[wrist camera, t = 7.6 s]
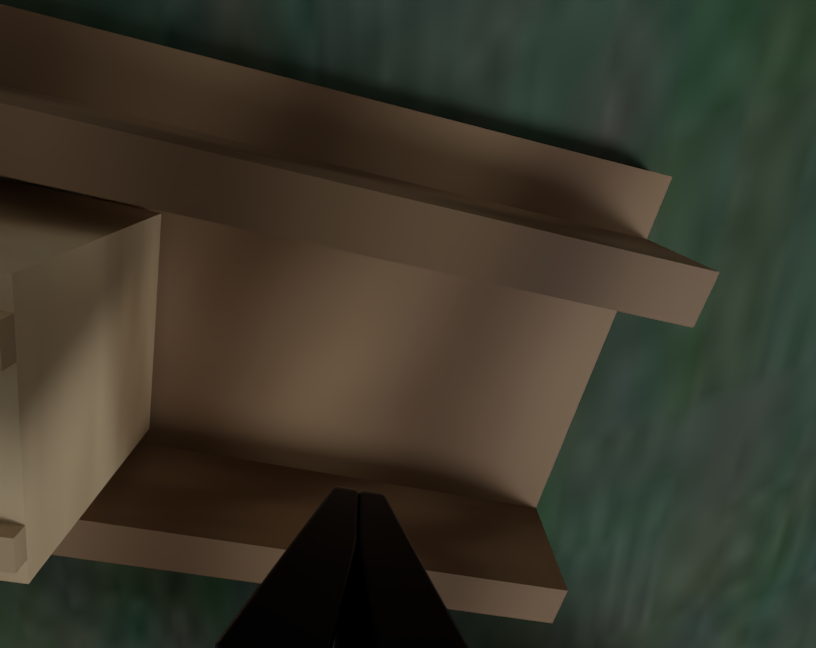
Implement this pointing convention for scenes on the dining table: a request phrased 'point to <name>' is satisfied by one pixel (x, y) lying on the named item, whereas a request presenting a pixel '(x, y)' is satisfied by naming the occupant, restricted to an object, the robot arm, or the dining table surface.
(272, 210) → the bay
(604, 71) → the dining table surface
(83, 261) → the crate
